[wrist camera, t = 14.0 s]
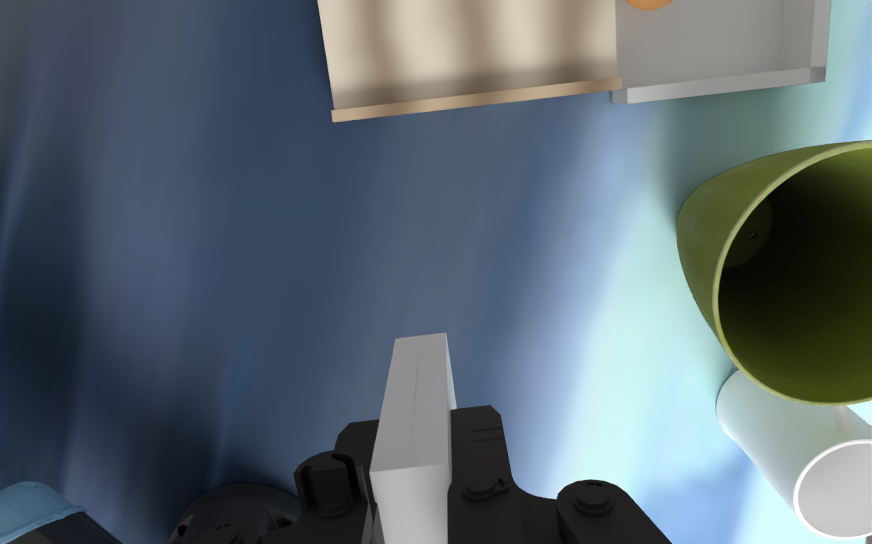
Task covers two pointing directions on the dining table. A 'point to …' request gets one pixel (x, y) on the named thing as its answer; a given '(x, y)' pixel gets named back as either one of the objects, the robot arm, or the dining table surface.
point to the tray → (718, 47)
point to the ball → (648, 4)
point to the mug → (805, 455)
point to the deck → (464, 53)
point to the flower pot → (788, 269)
